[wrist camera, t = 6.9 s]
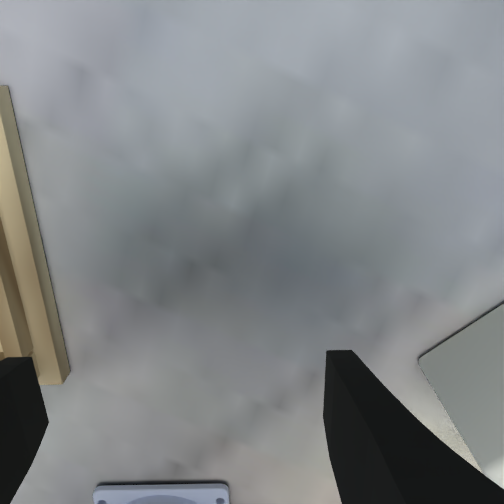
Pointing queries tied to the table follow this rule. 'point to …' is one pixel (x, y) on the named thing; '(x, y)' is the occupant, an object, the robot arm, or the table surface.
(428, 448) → the robot arm
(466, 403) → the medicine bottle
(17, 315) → the beige wooden frame
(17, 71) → the table surface
